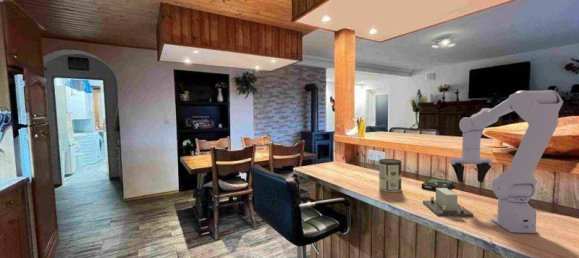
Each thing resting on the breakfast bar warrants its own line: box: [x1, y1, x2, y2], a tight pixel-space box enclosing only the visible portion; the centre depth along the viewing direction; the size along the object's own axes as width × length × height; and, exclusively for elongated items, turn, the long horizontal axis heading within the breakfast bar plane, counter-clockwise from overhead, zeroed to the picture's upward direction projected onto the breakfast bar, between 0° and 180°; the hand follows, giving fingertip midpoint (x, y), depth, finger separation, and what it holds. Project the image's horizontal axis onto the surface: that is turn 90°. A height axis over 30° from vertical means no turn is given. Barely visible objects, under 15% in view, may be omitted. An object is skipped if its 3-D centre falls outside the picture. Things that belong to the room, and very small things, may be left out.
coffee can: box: [378, 158, 402, 193], centre depth 123 cm, size 10×10×14 cm
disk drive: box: [421, 178, 454, 192], centre depth 125 cm, size 10×3×15 cm
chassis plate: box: [422, 196, 474, 218], centre depth 97 cm, size 13×12×3 cm
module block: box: [435, 188, 459, 211], centre depth 97 cm, size 4×8×6 cm, turn 174°
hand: (470, 181), depth 100 cm, fingers open, 7 cm apart
